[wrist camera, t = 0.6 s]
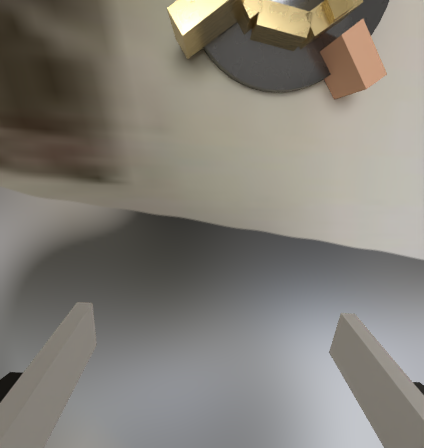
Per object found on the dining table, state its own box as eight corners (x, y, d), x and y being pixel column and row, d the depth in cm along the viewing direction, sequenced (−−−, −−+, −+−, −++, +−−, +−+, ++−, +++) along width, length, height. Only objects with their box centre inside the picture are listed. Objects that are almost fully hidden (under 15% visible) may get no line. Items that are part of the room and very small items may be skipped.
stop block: (312, 57, 32) (341, 34, 25) (329, 44, 31) (363, 18, 25) (334, 99, 33) (366, 89, 27) (350, 87, 33) (387, 74, 26)
